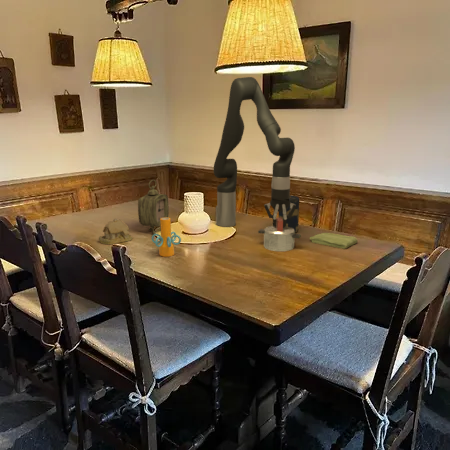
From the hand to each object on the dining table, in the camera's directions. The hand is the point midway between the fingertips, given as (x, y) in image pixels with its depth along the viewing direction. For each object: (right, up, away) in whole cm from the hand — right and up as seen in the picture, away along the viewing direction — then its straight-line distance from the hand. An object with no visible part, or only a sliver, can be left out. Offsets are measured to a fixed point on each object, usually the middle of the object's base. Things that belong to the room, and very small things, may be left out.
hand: (279, 227), depth 180 cm
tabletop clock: (-57, -2, +26) cm, 63 cm away
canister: (+7, -2, +25) cm, 26 cm away
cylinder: (-47, -11, -7) cm, 48 cm away
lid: (0, -3, 0) cm, 3 cm away
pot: (0, -8, +2) cm, 9 cm away
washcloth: (+25, -7, +8) cm, 27 cm away
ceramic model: (-72, -6, +12) cm, 73 cm away
